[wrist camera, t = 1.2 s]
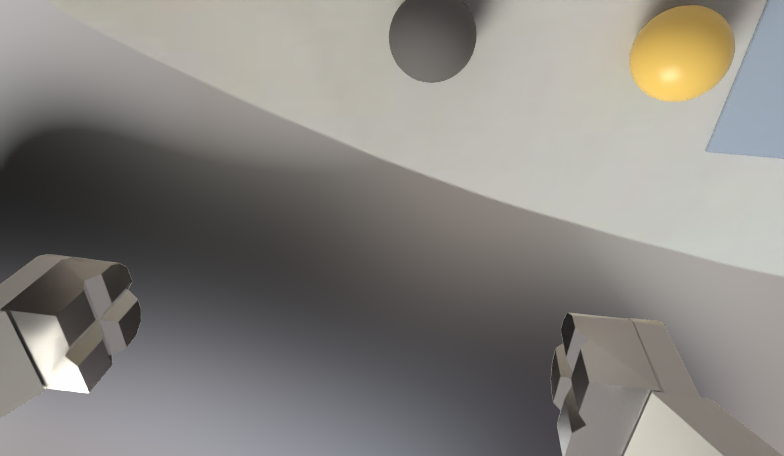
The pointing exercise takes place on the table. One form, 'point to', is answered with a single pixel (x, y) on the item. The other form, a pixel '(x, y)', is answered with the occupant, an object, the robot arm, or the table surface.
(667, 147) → the table surface
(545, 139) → the table surface
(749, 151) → the board
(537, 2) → the table surface
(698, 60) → the ochre ball
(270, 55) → the table surface
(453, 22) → the grey sphere
